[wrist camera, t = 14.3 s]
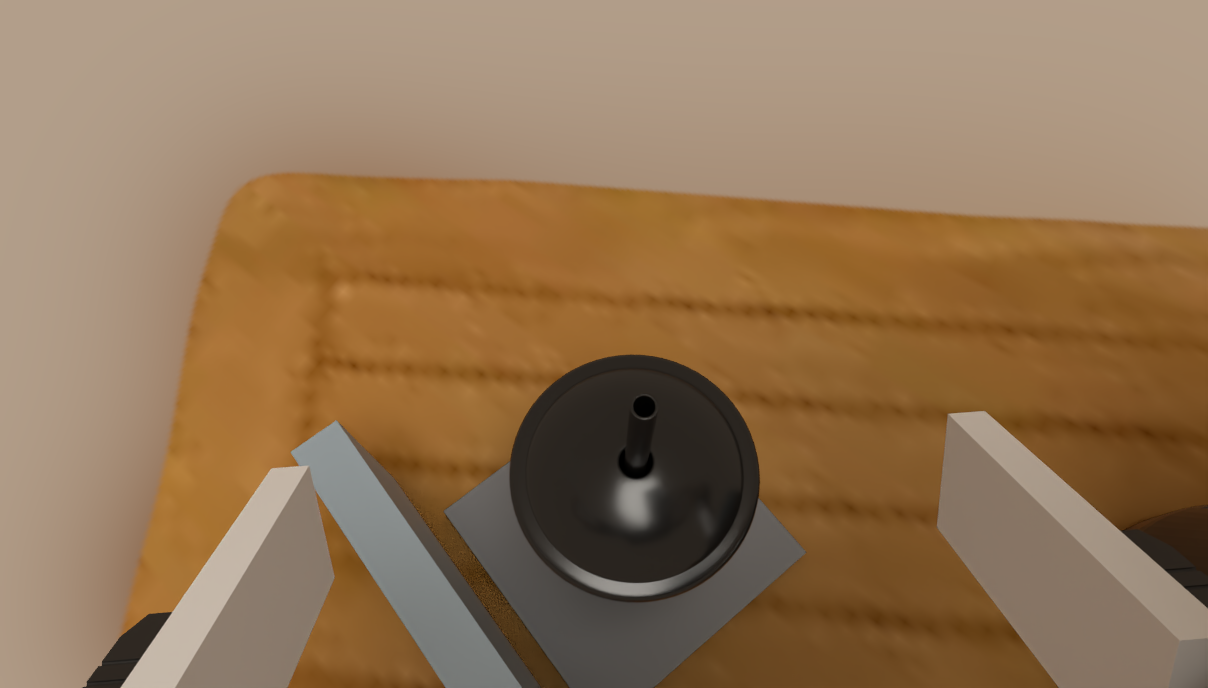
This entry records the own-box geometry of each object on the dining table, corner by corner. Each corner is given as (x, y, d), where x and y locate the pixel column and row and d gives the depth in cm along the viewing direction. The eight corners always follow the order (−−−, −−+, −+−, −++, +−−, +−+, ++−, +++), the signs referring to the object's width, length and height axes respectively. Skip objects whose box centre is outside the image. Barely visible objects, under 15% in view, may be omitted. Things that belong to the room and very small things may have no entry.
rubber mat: (639, 368, 41) (640, 363, 40) (803, 554, 37) (806, 552, 37) (445, 513, 38) (443, 511, 37) (602, 732, 34) (602, 732, 34)
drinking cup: (513, 506, 37) (424, 346, 19) (653, 430, 39) (699, 211, 20) (590, 659, 35) (576, 647, 16) (738, 572, 36) (878, 470, 18)
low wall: (394, 478, 39) (336, 420, 30) (628, 811, 33) (635, 851, 25) (358, 504, 38) (290, 452, 30) (590, 847, 33) (585, 899, 24)
